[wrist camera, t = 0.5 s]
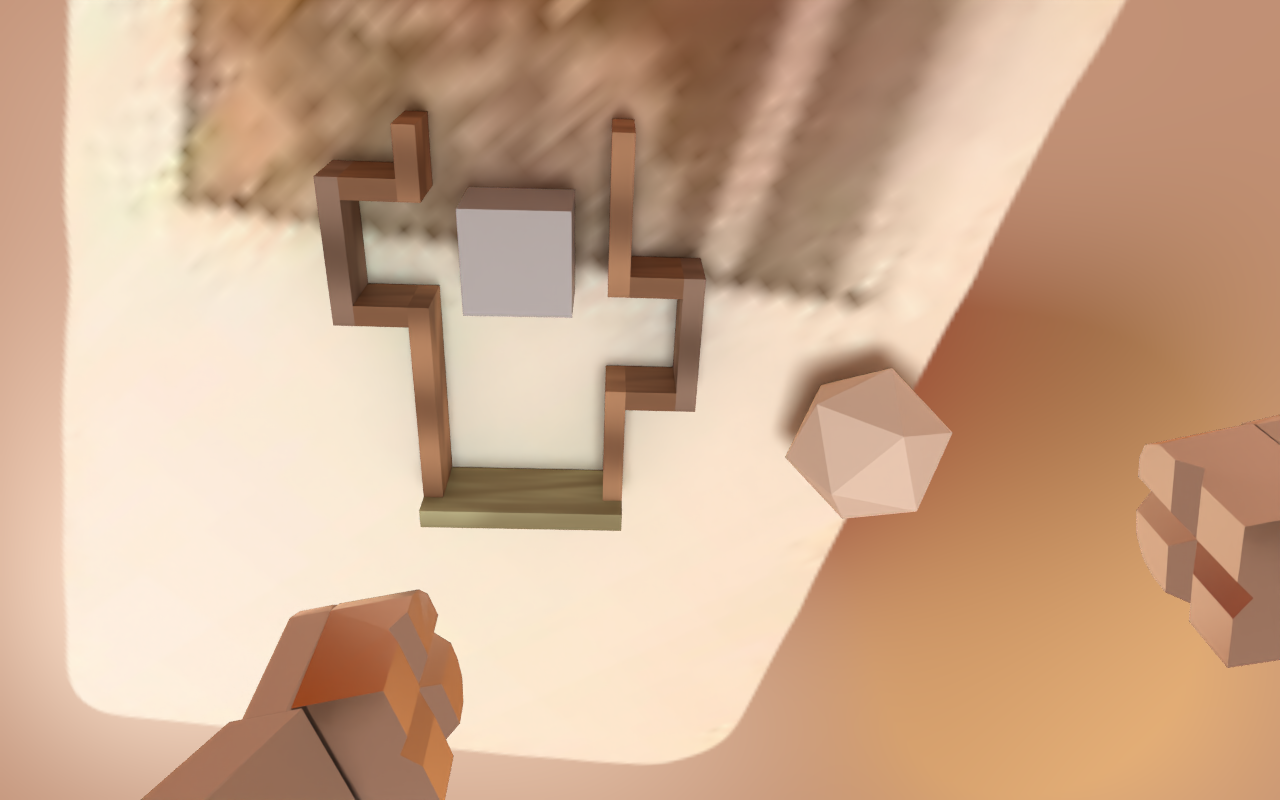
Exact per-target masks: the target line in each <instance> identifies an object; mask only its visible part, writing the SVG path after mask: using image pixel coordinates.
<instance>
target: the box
mask: <svg viewBox="0 0 1280 800" xmlns="http://www.w3.org/2000/svg"><path fill="white" fill-rule="evenodd" d="M390 125H391V136H392V147H393V158H394V162H370V161H342V160H332V161H331V162H330V163H329V164H327V165H326V166H325V167H324V168H323V169H322V170H320V171H319V172H318V173H317V174H316V175H314V184H315V191H316V199H317V206H318V214H319V221H320V229H321V236H322V244H323V251H324V259H325V266H326V274H327V281H328V289H329V296H330V303H331V311H332V318H333V325H341V326H377V327H409V336H410V347H411V358H412V370H413V381H414V392H415V403H416V414H417V425H418V436H419V448H420V459H421V470H422V481H423V492H424V498H423V501H422V504H421V507H420V510H419V513H420V524H421V527H451V528H504V529H557V530H610V531H621V519H622V476H623V450H624V424H625V410H645V411H686V412H695V406H696V394H697V381H698V369H699V357H700V345H701V333H702V320H703V308H704V296H705V284H706V278H705V274H704V270H703V266H702V262H701V258H672V257H641V256H631V243H632V217H633V191H634V165H635V139H636V131H635V120H634V119H612V154H611V192H610V230H609V268H608V297H626V298H660V299H677V313H676V328H675V343H674V359H673V367H642V366H606V383H605V421H604V459H603V470H562V469H516V468H470V467H452V457H451V443H450V428H449V414H448V400H447V386H446V371H445V357H444V343H443V328H442V314H441V300H440V286H438V285H404V284H371V283H368V279H367V270H366V261H365V252H364V243H363V234H362V225H361V216H360V207H359V201H385V202H414V203H421V201H422V200H423V198H424V197H425V195H426V194H427V192H428V191H429V189H430V188H431V187H432V171H431V157H430V143H429V129H428V114H427V112H425V111H404V112H403V113H402V114H401V115H400V116H399V117H397V118H396V119H395V120H394V121H393V122H392V123H391V124H390Z"/></svg>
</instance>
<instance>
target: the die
mask: <svg viewBox="0 0 1280 800" xmlns="http://www.w3.org/2000/svg"><path fill="white" fill-rule="evenodd" d="M951 435H952V432H951V431H950V430H949V429H948V428H947V426H946V425H945V424H944V423H943V422H942V421H941V420H940V419H939V418H938V417H937V416H936V415H935V414H934V413H933V411H932V410H931V409H930V408H929V407H928V406H927V405H926V404H925V403H924V402H923V401H922V400H921V399H920V397H919V396H918V395H917V394H916V393H915V392H914V391H913V390H912V389H911V388H910V387H909V386H908V385H907V383H906V382H905V381H904V380H903V379H902V378H901V377H900V376H899V375H898V374H897V373H896V372H895V371H894V370H893V368H890V369H886V370H881V371H877V372H873V373H869V374H865V375H860V376H856V377H852V378H848V379H844V380H839V381H835V382H831V383H827V384H823V385H821V386H820V388H819V390H818V392H817V394H816V396H815V398H814V400H813V402H812V404H811V406H810V408H809V410H808V412H807V414H806V416H805V418H804V420H803V422H802V424H801V426H800V428H799V430H798V432H797V434H796V436H795V438H794V440H793V442H792V444H791V446H790V448H789V450H788V452H787V454H786V456H785V458H786V459H787V460H788V461H789V462H790V463H791V464H792V465H793V466H794V467H795V468H796V469H797V470H798V472H799V473H800V474H801V475H802V476H803V477H804V478H805V479H806V480H807V481H808V482H809V483H810V484H811V485H812V487H813V488H814V489H815V490H816V491H817V492H818V493H819V494H820V495H821V496H822V497H823V498H824V499H825V500H826V502H827V503H828V504H829V505H830V506H831V507H832V508H833V509H834V510H835V511H836V512H837V513H838V514H839V515H840V517H841V518H842V519H843V518H853V517H863V516H872V515H883V514H893V513H904V512H914V511H917V509H918V507H919V505H920V503H921V500H922V498H923V496H924V494H925V492H926V489H927V487H928V485H929V483H930V481H931V479H932V476H933V474H934V472H935V470H936V468H937V465H938V463H939V461H940V459H941V457H942V454H943V452H944V450H945V448H946V446H947V443H948V441H949V439H950V436H951Z"/></svg>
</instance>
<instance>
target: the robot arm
mask: <svg viewBox="0 0 1280 800" xmlns="http://www.w3.org/2000/svg"><path fill="white" fill-rule="evenodd" d="M1138 477H1139V478H1140V479H1141V480H1142V481H1143V482H1144V483H1145V484H1146V485H1147V486H1148V487H1149V488H1150V490H1151V492H1150V494H1149V495H1148V496H1147V497H1146V499H1145V500H1144V501H1143V502H1142V504H1141V505H1140V506H1139V507H1138V509H1137V537H1138V541H1139V545H1140V549H1141V552H1142V556H1143V559H1144V561H1145V563H1146V565H1147V567H1148V568H1149V570H1150V572H1151V574H1152V576H1153V577H1154V578H1155V580H1156V581H1157V582H1158V583H1159V585H1160V586H1161V587H1162V589H1163V590H1164V591H1165V592H1166V593H1168V594H1171V595H1173V596H1175V597H1177V598H1180V599H1182V600H1184V601H1187V602H1189V603H1191V605H1190V618H1189V622H1190V623H1191V624H1192V626H1193V627H1194V628H1195V629H1196V630H1197V632H1198V633H1199V634H1200V635H1201V636H1202V638H1203V639H1204V640H1205V641H1206V643H1207V644H1208V645H1209V646H1210V647H1211V649H1212V650H1213V651H1214V652H1215V653H1216V655H1217V656H1218V657H1219V658H1220V659H1221V660H1222V662H1223V663H1224V664H1225V665H1226V667H1228V668H1230V667H1235V666H1243V665H1249V664H1256V663H1263V662H1269V661H1276V660H1280V415H1276V416H1272V417H1268V418H1264V419H1259V420H1254V421H1250V422H1246V423H1242V424H1241V425H1239V426H1234V427H1229V428H1224V429H1220V430H1215V431H1210V432H1205V433H1200V434H1195V435H1190V436H1185V437H1180V438H1175V439H1171V440H1166V441H1161V442H1156V443H1151V444H1146V445H1145V447H1144V449H1143V451H1142V453H1141V456H1140V461H1139V476H1138ZM437 617H438V614H437V612H436V610H435V608H434V606H433V604H432V602H431V600H430V598H429V596H428V594H427V593H425V592H423V591H421V590H413V591H407V592H402V593H396V594H390V595H385V596H379V597H373V598H368V599H362V600H356V601H351V602H345V603H340V604H339V605H330V606H325V607H320V608H315V609H309V610H304V611H300V612H298V613H297V614H295V615H294V616H292V617H291V618H290V619H289V621H288V623H287V625H286V627H285V629H284V631H283V633H282V636H281V638H280V640H279V642H278V644H277V646H276V648H275V651H274V653H273V655H272V657H271V659H270V661H269V663H268V665H267V668H266V670H265V672H264V674H263V676H262V678H261V680H260V683H259V685H258V687H257V689H256V691H255V693H254V695H253V697H252V700H251V702H250V704H249V706H248V708H247V710H246V712H245V715H244V717H243V719H242V720H238V721H233V722H229V723H228V724H227V725H225V726H224V727H223V728H222V729H221V730H220V731H219V732H217V733H216V734H215V735H214V736H213V737H212V738H211V739H210V740H208V741H207V742H206V743H205V744H204V745H203V746H201V747H200V748H199V749H198V750H197V751H196V752H195V753H194V754H192V755H191V756H190V757H189V758H188V759H187V760H186V761H185V762H183V763H182V764H181V765H180V766H179V767H178V768H176V769H175V770H174V771H173V772H172V773H171V774H170V775H168V776H167V777H166V778H165V779H164V780H163V781H162V782H160V783H159V784H158V785H157V786H156V787H155V788H154V789H152V790H151V791H150V792H149V793H148V794H147V795H146V796H144V797H143V798H142V799H141V800H445V797H446V792H447V787H448V782H449V776H450V771H451V766H452V761H453V754H452V752H451V749H450V747H449V745H448V743H447V741H446V739H447V738H448V736H449V735H450V734H451V733H452V732H453V731H454V730H455V728H456V727H457V726H458V725H459V724H460V719H461V713H462V707H463V684H462V675H461V671H460V667H459V663H458V659H457V656H456V654H455V652H454V649H453V647H452V645H451V643H450V642H448V641H447V640H445V639H444V638H442V637H440V636H439V635H437V634H435V633H434V629H435V625H436V621H437Z"/></svg>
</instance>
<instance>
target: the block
mask: <svg viewBox="0 0 1280 800" xmlns="http://www.w3.org/2000/svg"><path fill="white" fill-rule="evenodd" d="M456 218H457V233H458V247H459V262H460V277H461V292H462V306H463V316H513V317H565V318H572V313H573V303H574V294H575V190H574V189H534V188H494V187H468V188H467V190H466V191H465V193H464V195H463V197H462V199H461V200H460V202H459V204H458V206H457V208H456Z"/></svg>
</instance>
